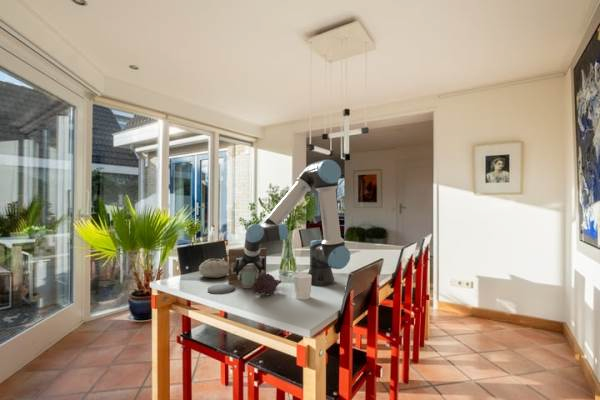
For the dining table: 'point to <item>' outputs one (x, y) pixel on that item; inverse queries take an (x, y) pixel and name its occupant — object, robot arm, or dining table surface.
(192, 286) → the dining table surface
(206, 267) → the beige rounded lump
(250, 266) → the coffee cup
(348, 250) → the robot arm
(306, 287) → the white cup
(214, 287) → the rubber mat
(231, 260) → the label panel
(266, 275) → the pine cone
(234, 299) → the dining table surface
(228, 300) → the dining table surface
